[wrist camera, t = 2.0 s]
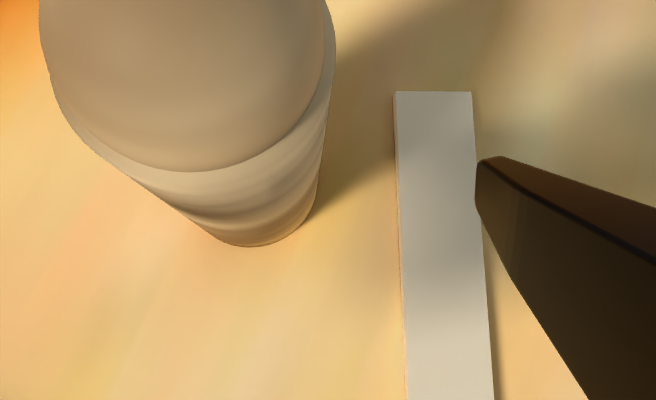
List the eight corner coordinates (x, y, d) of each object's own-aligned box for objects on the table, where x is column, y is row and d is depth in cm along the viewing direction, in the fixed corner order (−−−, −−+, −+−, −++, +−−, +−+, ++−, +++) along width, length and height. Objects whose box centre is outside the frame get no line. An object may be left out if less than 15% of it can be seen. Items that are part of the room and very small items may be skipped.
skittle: (344, 181, 19) (427, -43, 7) (250, 275, 18) (137, 225, 6) (252, 94, 20) (166, -272, 7) (157, 182, 19) (-137, -56, 6)
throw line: (497, 536, 17) (504, 545, 17) (411, 540, 17) (415, 549, 16) (466, 97, 20) (471, 91, 20) (392, 96, 20) (395, 90, 19)
